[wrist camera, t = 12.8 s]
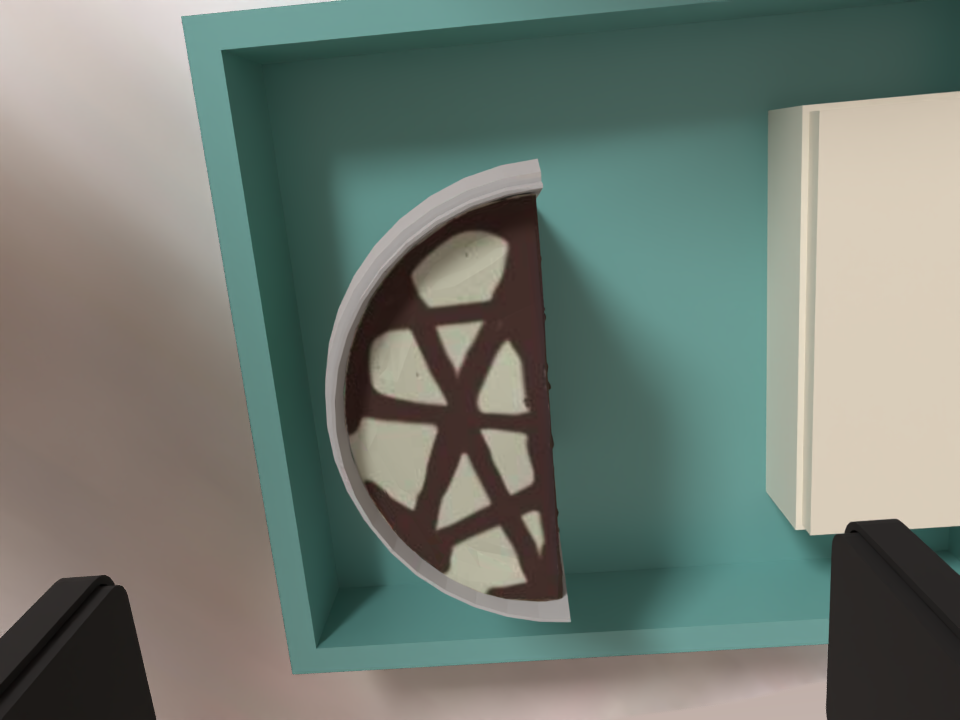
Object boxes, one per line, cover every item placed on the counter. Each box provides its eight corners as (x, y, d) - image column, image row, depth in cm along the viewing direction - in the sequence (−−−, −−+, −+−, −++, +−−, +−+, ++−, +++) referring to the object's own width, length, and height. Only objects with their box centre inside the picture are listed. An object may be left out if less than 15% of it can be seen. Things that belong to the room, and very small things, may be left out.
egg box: (767, 110, 27) (812, 104, 23) (949, 94, 26) (1026, 84, 23) (765, 491, 30) (804, 541, 26) (926, 480, 30) (988, 529, 26)
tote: (237, 39, 28) (181, 16, 23) (1002, -35, 26) (1114, -78, 21) (323, 598, 33) (292, 674, 28) (958, 559, 32) (1039, 631, 27)
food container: (353, 171, 28) (271, 183, 18) (528, 156, 27) (541, 159, 18) (392, 495, 31) (341, 653, 21) (550, 485, 30) (572, 640, 21)
